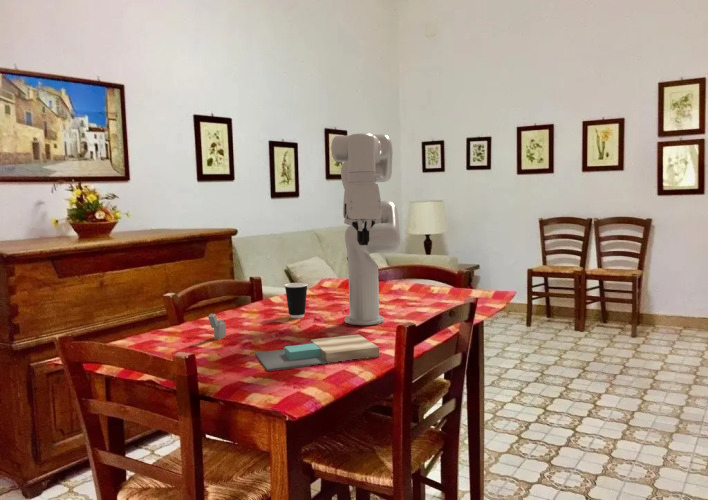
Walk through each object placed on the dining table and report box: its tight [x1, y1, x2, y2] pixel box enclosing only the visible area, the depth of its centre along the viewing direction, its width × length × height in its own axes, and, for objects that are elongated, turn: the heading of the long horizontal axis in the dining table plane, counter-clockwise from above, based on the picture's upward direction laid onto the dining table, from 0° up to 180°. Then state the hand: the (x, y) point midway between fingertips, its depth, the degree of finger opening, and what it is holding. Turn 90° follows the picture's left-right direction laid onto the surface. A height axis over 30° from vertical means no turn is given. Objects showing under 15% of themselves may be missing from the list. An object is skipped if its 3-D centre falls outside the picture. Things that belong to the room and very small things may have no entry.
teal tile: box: [284, 343, 321, 360], centre depth 158 cm, size 6×8×2 cm
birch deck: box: [310, 333, 380, 364], centre depth 161 cm, size 15×14×2 cm
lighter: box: [207, 313, 227, 341], centre depth 179 cm, size 7×2×8 cm, turn 164°
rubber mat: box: [254, 348, 329, 372], centre depth 156 cm, size 16×15×1 cm
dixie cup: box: [283, 282, 309, 319], centre depth 207 cm, size 8×8×11 cm
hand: (363, 244), depth 172 cm, fingers closed
